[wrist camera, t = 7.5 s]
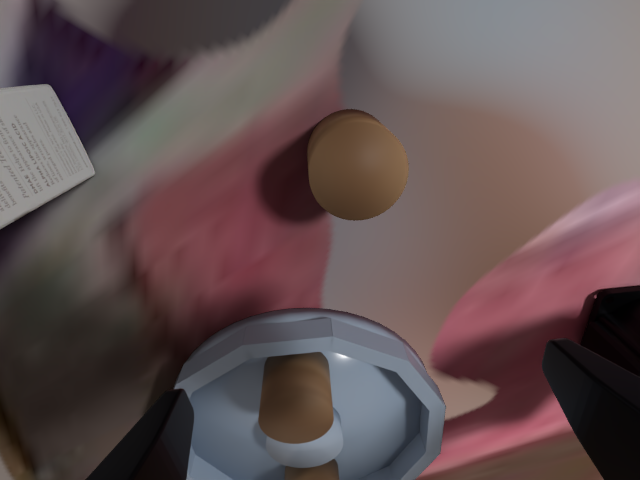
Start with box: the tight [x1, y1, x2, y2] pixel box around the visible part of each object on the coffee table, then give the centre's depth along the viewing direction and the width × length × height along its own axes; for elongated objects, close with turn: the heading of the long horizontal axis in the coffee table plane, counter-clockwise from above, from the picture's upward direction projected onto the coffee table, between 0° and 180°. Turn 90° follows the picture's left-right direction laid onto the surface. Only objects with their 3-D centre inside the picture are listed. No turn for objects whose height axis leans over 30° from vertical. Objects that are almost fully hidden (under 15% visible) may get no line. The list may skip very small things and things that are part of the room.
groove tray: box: [173, 308, 446, 480], centre depth 25 cm, size 18×18×3 cm
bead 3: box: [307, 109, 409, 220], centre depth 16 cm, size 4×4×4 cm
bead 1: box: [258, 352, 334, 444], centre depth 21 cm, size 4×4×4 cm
